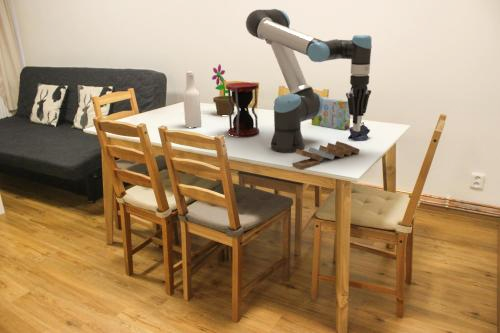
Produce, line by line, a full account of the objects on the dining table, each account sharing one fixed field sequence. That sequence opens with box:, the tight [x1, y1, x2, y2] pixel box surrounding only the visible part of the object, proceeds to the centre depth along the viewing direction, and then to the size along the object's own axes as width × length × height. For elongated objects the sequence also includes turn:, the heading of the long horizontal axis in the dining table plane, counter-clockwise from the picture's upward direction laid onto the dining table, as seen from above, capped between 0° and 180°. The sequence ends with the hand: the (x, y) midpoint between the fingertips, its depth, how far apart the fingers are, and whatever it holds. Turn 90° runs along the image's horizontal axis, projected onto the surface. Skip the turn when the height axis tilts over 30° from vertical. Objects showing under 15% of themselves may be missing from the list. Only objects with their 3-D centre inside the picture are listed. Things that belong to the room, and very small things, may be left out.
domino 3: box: [307, 146, 336, 161], centre depth 180 cm, size 2×5×10 cm
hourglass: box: [225, 81, 260, 138], centre depth 223 cm, size 16×16×25 cm
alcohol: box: [182, 70, 202, 129], centre depth 239 cm, size 9×9×30 cm
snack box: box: [311, 96, 351, 131], centre depth 233 cm, size 21×6×15 cm, turn 47°
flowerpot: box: [211, 64, 236, 116], centre depth 267 cm, size 14×14×30 cm
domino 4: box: [318, 144, 345, 159], centre depth 182 cm, size 2×5×10 cm
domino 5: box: [326, 142, 353, 157], centre depth 184 cm, size 2×5×10 cm
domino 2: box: [292, 158, 321, 170], centre depth 176 cm, size 2×5×10 cm
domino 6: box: [334, 140, 361, 155], centre depth 187 cm, size 2×5×10 cm
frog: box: [347, 121, 371, 142], centre depth 210 cm, size 10×12×8 cm
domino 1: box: [295, 149, 324, 162], centre depth 178 cm, size 2×5×10 cm
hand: (356, 130), depth 188 cm, fingers closed
